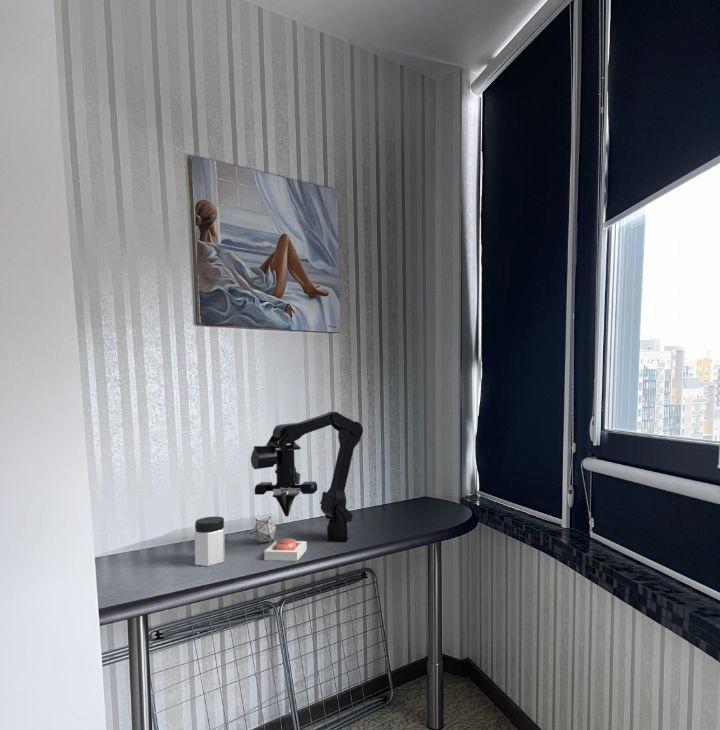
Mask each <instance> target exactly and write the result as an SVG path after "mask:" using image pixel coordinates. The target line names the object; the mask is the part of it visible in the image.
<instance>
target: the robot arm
mask: <svg viewBox="0 0 720 730" xmlns="http://www.w3.org/2000/svg"><path fill="white" fill-rule="evenodd" d="M329 426H331V427H332V428H333V429H334V430H335V431H337V432H338V434H337V438H338V441H339V442H338V443H339V449H338V453H337V457H336V462H335V466H334V470H333V474H332V479H331V484H330V487H329V488H328V490H327V491H322V493H321V499H320V502H319V504H320V510H321V512H322V513H323V514H324V516H325V519H327V520H328V524H327V525H326V531H327V532H326V533H327V535H326V536H327V537H326V538H327V542H334V543H335V542H339V543H340V542H343V543H344V542H345V543H346V542H348V541H349V539H350V538H351V534H350V522H352V520H353V515H354V514H353V513H352V512H351V511H350V510H348V508H347V498H346V497H347V496H346V491H345V490H346V485H347V481H348V477H349V472H350V467H351V463H352V460H353V459H352V458H353V454H354V450H355V448H356V447H357V445H358V444H359V443H360V441H361V438H362V436H363V432H364V427H363V426H362V424H361V423H360V422H358V421H354V420H353V419H351V418H348V417H346V416H344V415H343V414H341V413H339V412H338V411H327V413H324V414H320V415H317V416H314V417H311V418H308V419H305V420H302V421H299V422H293V423H292V422H291V423H283V424H278V425H276V426H275V427H274V428H273V430H272V435H271V436H270V437H269V439H268V441H267V443H266V445H254V446H253V450H252V452H251V456H250V463H251V467H252V468H253V469H254V470H260V469H267V468H268V469H269V468H273V467H275V468H276V469H275V470H274V473H275V474H276V483H275V484H273V481H272V482H271V481H261V482H260V483H257V484H256V485H255V486H254V495H255V496H256V495H265V494H267V492H272V493H273V494H272V498H275V500H276V501H277V503H278V504H279V507H281V510H282V512H283V514H284V517H290V512H291V509H292V506H293V503H294V500H295V498H296V497H297V496H298V495H300V493H301V494H303V495H313V494H315V493H316V492H317V491H318V483H317V482H316V481H312V480H311V481H303V482H302V483H301V482H300V481H301V474H300V473H299V472H297V468H296V464H295V463H296V461H295V450H296V451H297V450H301V449H302V448H301V446H300V445H298V444H297V443H296V441H297V440H299V439H301V438H302V437H303V436H304V435H306V434H309V433H312V432H315V431H317V430H321V429H323V428H326V427H329ZM300 483H301V484H300Z"/></svg>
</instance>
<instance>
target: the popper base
mask: <svg viewBox="0 0 720 730" xmlns="http://www.w3.org/2000/svg"><path fill="white" fill-rule="evenodd" d="M276 541H277V540H274V542H273V543H272V544H271V545H270V546H269V547H267V548H266V549H265V550H264V552H263V555H264V561H276V562H277V561H279V562H280V561H283V562H284V561H285V562H297V561H299V560H300V558H301V557H302V556H303V555H304V554H305V552H306V551H307V549H308V545H307V544H308V542H307V541H306V540H304V541H303V540H302V541H301V540H296V548H295V549H294V550H276Z"/></svg>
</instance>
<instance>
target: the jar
mask: <svg viewBox="0 0 720 730" xmlns="http://www.w3.org/2000/svg"><path fill="white" fill-rule="evenodd" d="M194 523H195V524H194V528H195V532H194V564H195V566H199V565H201V566H202V567H211V566H210V565H212V566H215V565H219V564H223V563H224V560H225V558H226V554H225V552H226V550H225V549H226V547H225V543H226V542H225V541H226V540H225V539H226V538H225V518H224V517H222V516H207V517H202V518H198V519H197V520H195V522H194ZM222 562H223V563H222ZM218 563H219V564H218ZM214 564H215V565H214Z"/></svg>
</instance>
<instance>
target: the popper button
mask: <svg viewBox="0 0 720 730" xmlns="http://www.w3.org/2000/svg"><path fill="white" fill-rule="evenodd" d="M275 541H276V550H294V549H295V548H296V541H297V540H296V539H294V538H289V537H287V538H286V537H285V538H281V539H278V540H275Z"/></svg>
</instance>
